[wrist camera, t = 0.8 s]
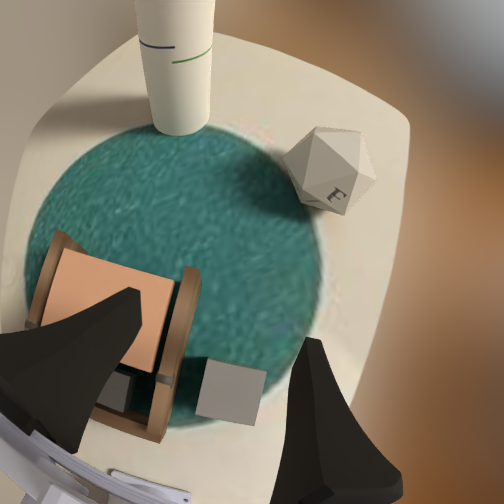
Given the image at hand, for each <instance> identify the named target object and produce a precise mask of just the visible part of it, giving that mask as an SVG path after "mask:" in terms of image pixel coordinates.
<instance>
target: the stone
mask: <svg viewBox="0 0 504 504" xmlns="http://www.w3.org/2000/svg"><path fill="white" fill-rule="evenodd" d="M266 373H267V371H264V370H262V369H260V368H258V367H253V366H248V365H243V364H238V363H234V362H229V361H225V360H220V359H216V358H212V357H208V360H207V364H206V369H205V373H204V377H203V382H202V386H201V391H200V395H199V399H198V404H197V408H196V413H195V414H196V415H200V416H204V417H209V418H213V419H218V420H223V421H228V422H233V423H239V424H244V425H250V426H254V425H255V421H256V417H257V412H258V408H259V404H260V400H261V395H262V391H263V387H264V382H265V378H266Z"/></svg>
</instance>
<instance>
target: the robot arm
mask: <svg viewBox="0 0 504 504" xmlns="http://www.w3.org/2000/svg"><path fill="white" fill-rule="evenodd" d="M142 325H143V324H142V310H141V291H140V290H138V289H135V288H132V287H127V288H125V289H123V290H121V291H119V292H117V293H115V294H113V295H111V296H110V297H108V298H106V299H104V300H102V301H100V302H98V303H96V304H95V305H93V306H91V307H89V308H87V309H84V310H82V311H80V312H78V313H76V314H74V315H72V316H69V317H67V318H65V319H62V320H59V321H57V322H54V323H51V324H48V325H44V326H41V327H37V328H34V329H30V330H25V331H20V332H14V333H6V334H0V468H1V470H2V471H3V472H4V473H5V474H6V475H8V476H9V477H10V478H11V479H12V480H13V481H14V482H15V483H16V484H17V485H18V486H20V487H21V488H22V489H23V490H24V491H25V492H26V495H25V496H24V498H23V501H22V502H21V504H99V503H98V502H96V501H94V500H92V499H90V498H88V497H87V496H88V494H89V492H90V491H89V489H87V488H86V487H84V486H83V485H82V484H80V483H79V482H78V481H76V480H75V479H74V478H73V477H72V476H71V475H69V474H68V473H66V472H65V471H63V470H62V469H60V468H59V467H58V466H56V463H58V464H59V465H61V466H62V467H64V468H65V469H67V470H69V471H70V472H72V473H73V474H75V475H77V476H78V477H80V478H82V479H84V480H85V481H87V482H89V483H91V484H93V485H94V486H96V487H98V488H100V489H102V490H104V491H106V492H108V493H109V500H108V503H107V504H191V499H192V494H191V493H190V492H187V491H182V490H178V489H174V488H170V487H166V486H163V485H159V484H156V483H152V482H149V481H146V480H143V479H140V478H137V477H134V476H131V475H128V474H125V473H122V472H120V471H117V470H113V471H112V472H111V476H110V475H108V474H106V473H104V472H102V471H100V470H98V469H96V468H94V467H92V466H90V465H89V464H87V463H85V462H83V461H82V460H80V459H78V458H77V457H75V456H73V455H72V454H75V453H77V452H78V448H79V445H80V442H81V439H82V436H83V433H84V430H85V427H86V425H87V422H88V420H89V417H90V415H91V412H92V410H93V408H94V406H95V404H96V401H97V399H98V397H99V395H100V393H101V391H102V389H103V387H104V385H105V384H106V382H107V380H108V379H109V377H110V376H111V374H112V373H113V371H114V370H115V368H116V367H117V365H118V364H119V363H120V361H121V360H122V358H123V357H124V355H125V354H126V353H127V351H128V350H129V348H130V347H131V345H132V344H133V342H134V340H135V339H136V337H137V335H138V333H139V331H140V329H141V327H142ZM54 461H55V462H56V463H55V462H54ZM114 477H116V478H117V479H116V478H114ZM402 496H403V482H402V476H401V473H400V471H399V470H397V468H395V467H394V466H393V465H392V464H391V463H390V462H389V461H388V460H387V459H386V458H385V457H384V456H383V455H382V454H381V452H380V451H379V450H378V449H377V448H376V447H375V445H374V444H373V443H372V442H371V440H370V439H369V438H368V436H367V435H366V434H365V432H364V431H363V430H362V428H361V427H360V425H359V424H358V422H357V421H356V419H355V417H354V416H353V414H352V412H351V411H350V409H349V407H348V405H347V403H346V401H345V399H344V397H343V395H342V393H341V391H340V389H339V387H338V384H337V382H336V380H335V377H334V375H333V373H332V370H331V368H330V365H329V362H328V359H327V357H326V354H325V351H324V348H323V345H322V342H321V340H319V339H314V338H310V337H306V338H305V340H304V343H303V345H302V347H301V349H300V352H299V354H298V356H297V358H296V361H295V363H294V365H293V367H292V372H291V377H290V383H289V388H288V403H287V419H286V433H285V441H284V446H283V451H282V456H281V461H280V466H279V470H278V474H277V478H276V482H275V486H274V490H273V494H272V497H271V500H270V504H391V503H393V502H395V501H397V500H399V499H400V498H401V497H402ZM184 499H188V500H187V501H185V500H184Z"/></svg>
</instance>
